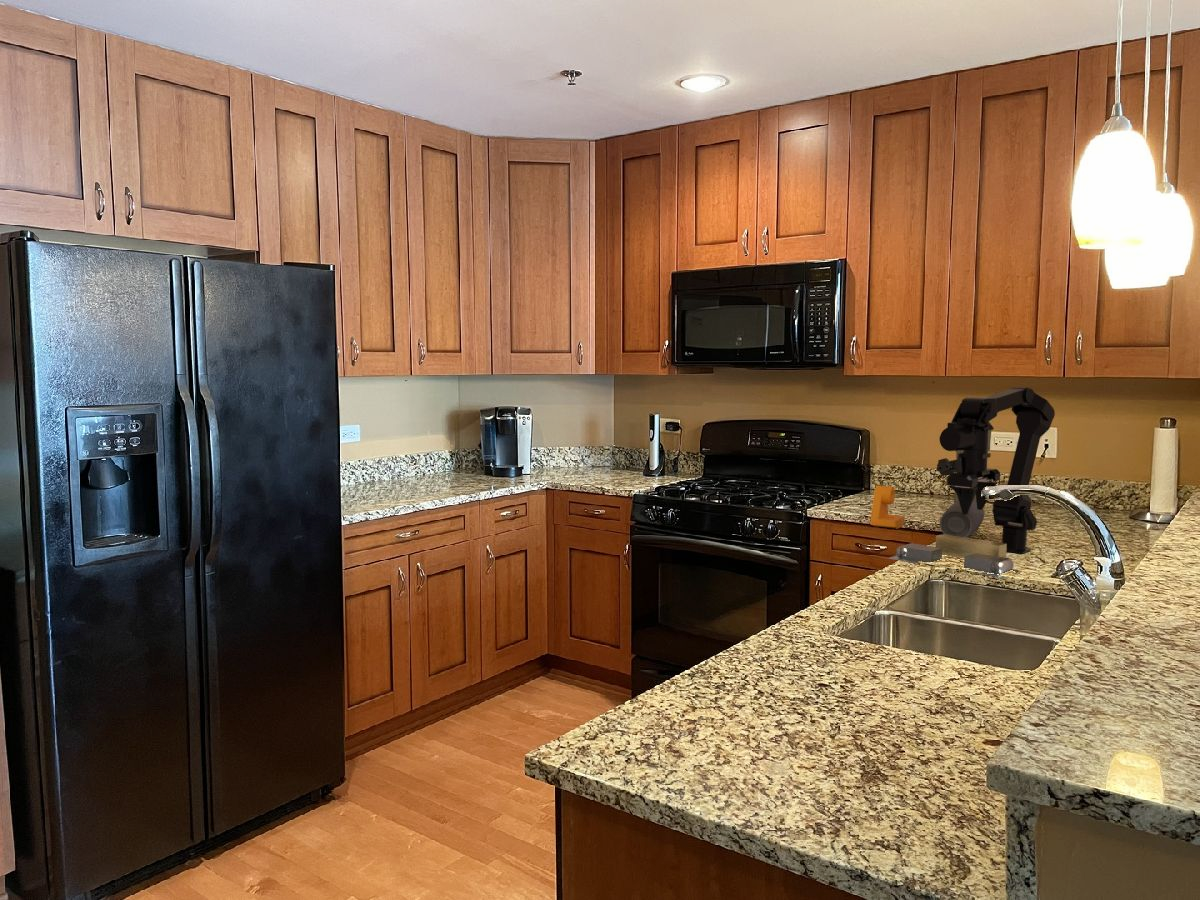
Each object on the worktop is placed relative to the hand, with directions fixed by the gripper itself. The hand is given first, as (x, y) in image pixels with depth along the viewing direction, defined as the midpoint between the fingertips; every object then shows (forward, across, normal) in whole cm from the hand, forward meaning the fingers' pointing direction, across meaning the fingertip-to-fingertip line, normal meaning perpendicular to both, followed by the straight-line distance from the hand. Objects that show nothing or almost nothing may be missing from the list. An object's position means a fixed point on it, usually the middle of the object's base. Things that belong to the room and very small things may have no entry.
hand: (972, 511), depth 219 cm
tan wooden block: (+12, 0, 0) cm, 12 cm away
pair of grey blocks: (+12, +10, 0) cm, 15 cm away
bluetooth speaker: (+12, -26, -13) cm, 32 cm away
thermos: (+13, -74, -30) cm, 81 cm away
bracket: (+12, -28, -36) cm, 47 cm away
